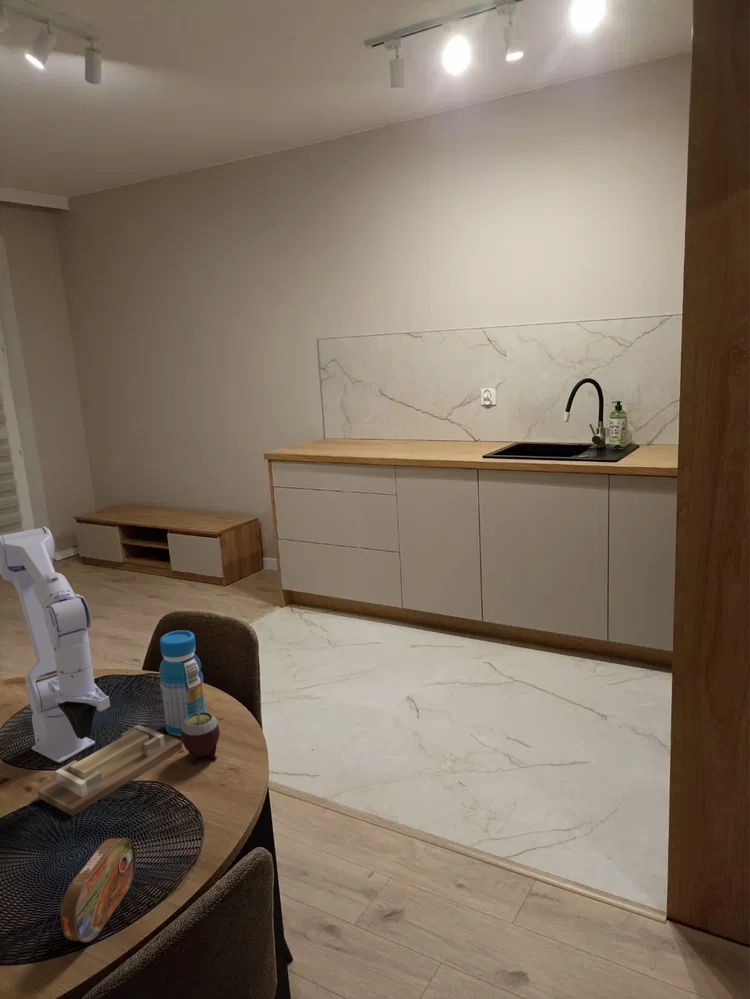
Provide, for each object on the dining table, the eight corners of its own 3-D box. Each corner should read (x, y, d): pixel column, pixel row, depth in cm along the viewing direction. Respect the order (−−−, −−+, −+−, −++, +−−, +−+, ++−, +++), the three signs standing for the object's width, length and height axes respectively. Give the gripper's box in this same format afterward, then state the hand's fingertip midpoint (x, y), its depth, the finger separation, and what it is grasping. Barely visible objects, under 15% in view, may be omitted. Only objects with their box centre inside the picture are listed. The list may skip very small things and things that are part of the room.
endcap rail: (38, 797, 128) (35, 777, 127) (148, 733, 148) (146, 715, 147) (72, 817, 123) (69, 796, 122) (182, 748, 142) (180, 729, 141)
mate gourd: (199, 743, 144) (192, 673, 140) (232, 751, 140) (226, 680, 137) (174, 763, 137) (166, 691, 134) (208, 773, 134) (201, 699, 130)
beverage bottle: (164, 740, 145) (154, 648, 140) (166, 719, 153) (156, 630, 148) (207, 734, 147) (199, 642, 142) (207, 713, 155) (198, 625, 150)
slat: (72, 780, 130) (70, 766, 130) (137, 743, 141) (135, 729, 141) (86, 788, 128) (84, 773, 127) (150, 749, 139) (148, 735, 139)
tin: (82, 957, 95) (74, 903, 93) (60, 954, 96) (52, 900, 94) (140, 874, 110) (134, 825, 108) (121, 871, 110) (114, 823, 108)
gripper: (28, 665, 127) (39, 735, 131) (80, 685, 120) (90, 758, 123) (64, 650, 133) (73, 717, 136) (115, 668, 126) (124, 738, 129)
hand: (84, 735), depth 130 cm, fingers closed
